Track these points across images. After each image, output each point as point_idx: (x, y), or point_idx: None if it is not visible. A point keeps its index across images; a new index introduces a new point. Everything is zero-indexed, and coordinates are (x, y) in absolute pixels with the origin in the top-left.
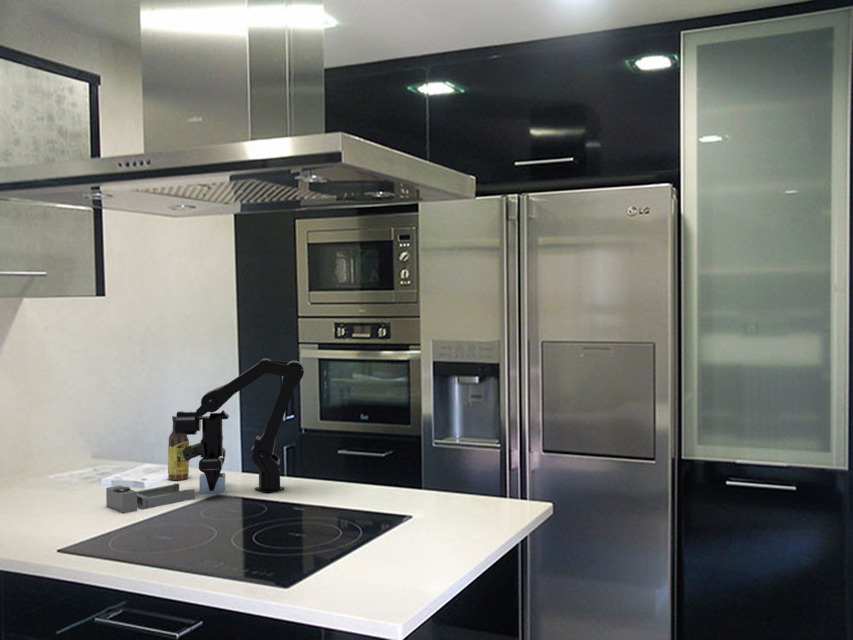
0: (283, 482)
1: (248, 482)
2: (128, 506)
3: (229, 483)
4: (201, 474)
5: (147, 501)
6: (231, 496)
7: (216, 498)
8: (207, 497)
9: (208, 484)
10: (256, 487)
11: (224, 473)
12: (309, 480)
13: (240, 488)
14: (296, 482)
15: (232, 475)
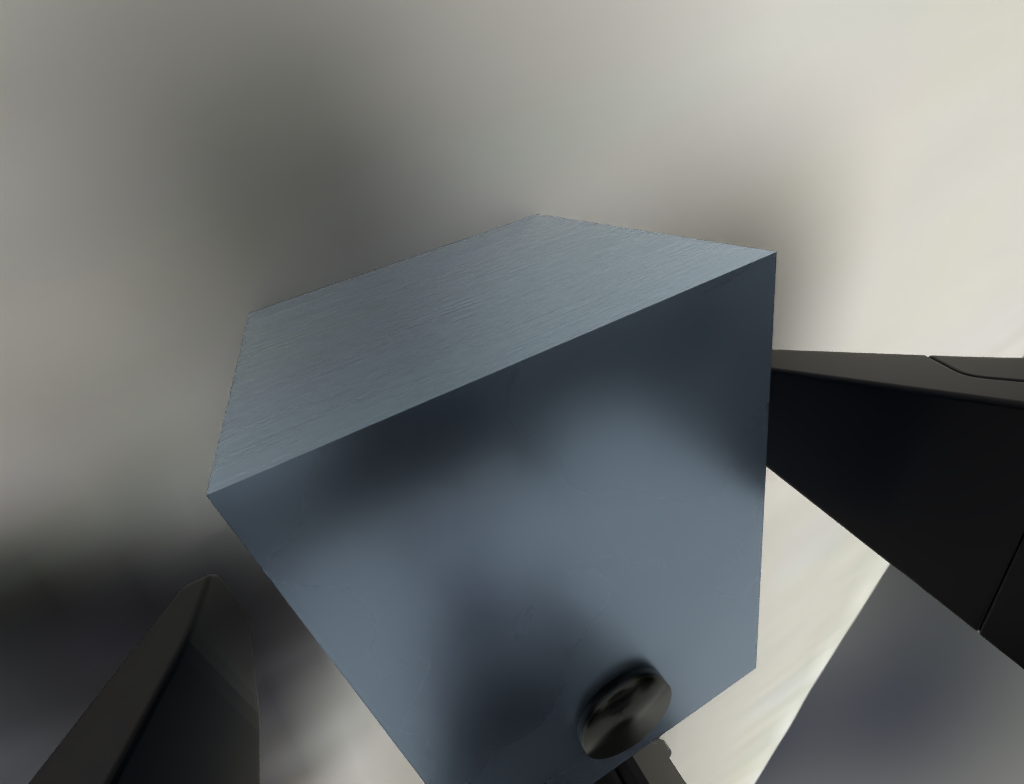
0: (738, 719)
1: (786, 541)
2: None
3: None
4: (722, 298)
5: None
6: (275, 743)
7: (83, 682)
8: (86, 539)
9: (70, 743)
10: None
11: (721, 686)
12: (751, 779)
13: None
14: (725, 766)
15: (1010, 305)
